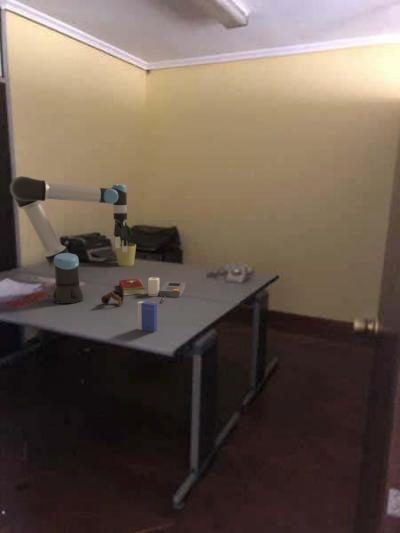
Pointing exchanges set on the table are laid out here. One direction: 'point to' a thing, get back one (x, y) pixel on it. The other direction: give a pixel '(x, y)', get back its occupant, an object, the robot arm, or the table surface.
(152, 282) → the charger brick
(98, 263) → the table surface
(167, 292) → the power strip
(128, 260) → the potted cactus
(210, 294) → the table surface
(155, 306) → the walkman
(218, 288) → the table surface
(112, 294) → the brown arched piece
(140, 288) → the hardcover book
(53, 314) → the table surface
